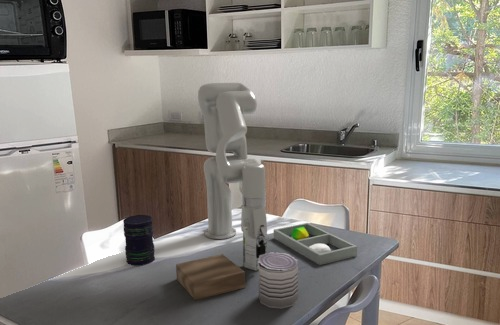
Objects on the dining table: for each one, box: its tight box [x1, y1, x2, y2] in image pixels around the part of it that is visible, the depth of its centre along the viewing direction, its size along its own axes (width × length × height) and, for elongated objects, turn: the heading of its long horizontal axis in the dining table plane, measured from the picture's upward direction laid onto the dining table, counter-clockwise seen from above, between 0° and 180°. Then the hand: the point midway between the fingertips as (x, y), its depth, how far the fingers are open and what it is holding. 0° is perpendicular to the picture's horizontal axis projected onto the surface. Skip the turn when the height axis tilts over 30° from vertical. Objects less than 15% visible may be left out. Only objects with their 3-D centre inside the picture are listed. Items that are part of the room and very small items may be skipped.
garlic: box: [309, 244, 332, 254], centre depth 162 cm, size 8×7×4 cm
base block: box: [175, 253, 246, 301], centre depth 141 cm, size 16×16×5 cm
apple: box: [291, 227, 310, 240], centre depth 173 cm, size 7×6×9 cm
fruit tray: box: [273, 222, 358, 266], centre depth 169 cm, size 30×16×4 cm, turn 28°
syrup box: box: [242, 226, 268, 272], centre depth 152 cm, size 6×6×14 cm
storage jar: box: [122, 214, 156, 267], centre depth 159 cm, size 10×10×15 cm
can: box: [258, 251, 299, 310], centre depth 130 cm, size 11×11×12 cm
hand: (255, 252), depth 152 cm, fingers closed on syrup box, 7 cm apart
